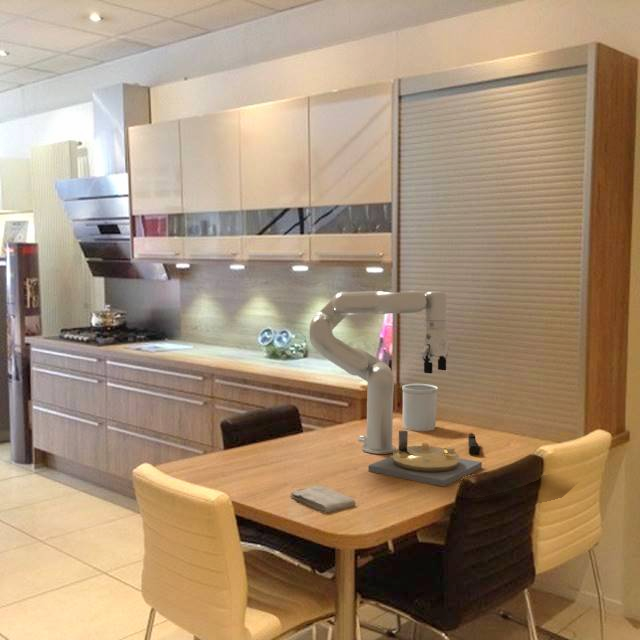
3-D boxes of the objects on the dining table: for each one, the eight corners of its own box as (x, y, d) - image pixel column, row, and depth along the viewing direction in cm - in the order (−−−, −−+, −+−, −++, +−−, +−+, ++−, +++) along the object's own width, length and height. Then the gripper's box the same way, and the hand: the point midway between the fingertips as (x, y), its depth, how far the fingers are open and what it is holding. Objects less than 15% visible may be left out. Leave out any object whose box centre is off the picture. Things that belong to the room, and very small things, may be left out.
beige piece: (469, 461, 263) (470, 434, 262) (439, 475, 245) (440, 446, 244) (413, 451, 276) (413, 425, 275) (380, 464, 258) (381, 436, 257)
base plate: (368, 471, 258) (368, 464, 258) (410, 454, 280) (410, 448, 280) (443, 486, 241) (443, 479, 241) (481, 467, 264) (481, 461, 264)
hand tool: (480, 456, 280) (480, 444, 279) (468, 455, 280) (469, 443, 280) (478, 444, 298) (478, 432, 298) (467, 443, 299) (468, 431, 299)
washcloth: (318, 492, 236) (318, 482, 236) (357, 507, 222) (357, 496, 222) (287, 499, 228) (287, 489, 228) (325, 515, 214) (326, 504, 214)
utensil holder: (439, 432, 317) (440, 389, 316) (403, 431, 317) (404, 389, 315) (433, 424, 332) (434, 383, 330) (399, 423, 332) (400, 383, 330)
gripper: (432, 327, 272) (431, 375, 274) (456, 324, 286) (455, 369, 287) (414, 326, 277) (413, 373, 278) (438, 322, 290) (438, 367, 292)
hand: (435, 371), depth 283 cm, fingers open, 9 cm apart
